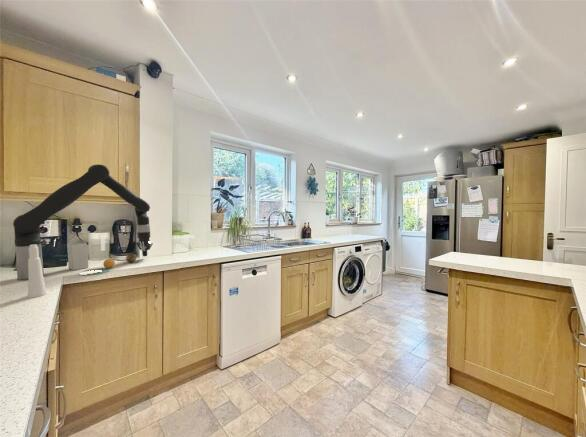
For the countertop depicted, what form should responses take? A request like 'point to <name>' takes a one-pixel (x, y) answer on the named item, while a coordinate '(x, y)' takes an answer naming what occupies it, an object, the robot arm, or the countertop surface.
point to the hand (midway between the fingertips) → (145, 256)
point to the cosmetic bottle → (35, 274)
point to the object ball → (109, 263)
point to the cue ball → (131, 258)
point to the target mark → (98, 272)
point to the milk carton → (77, 254)
